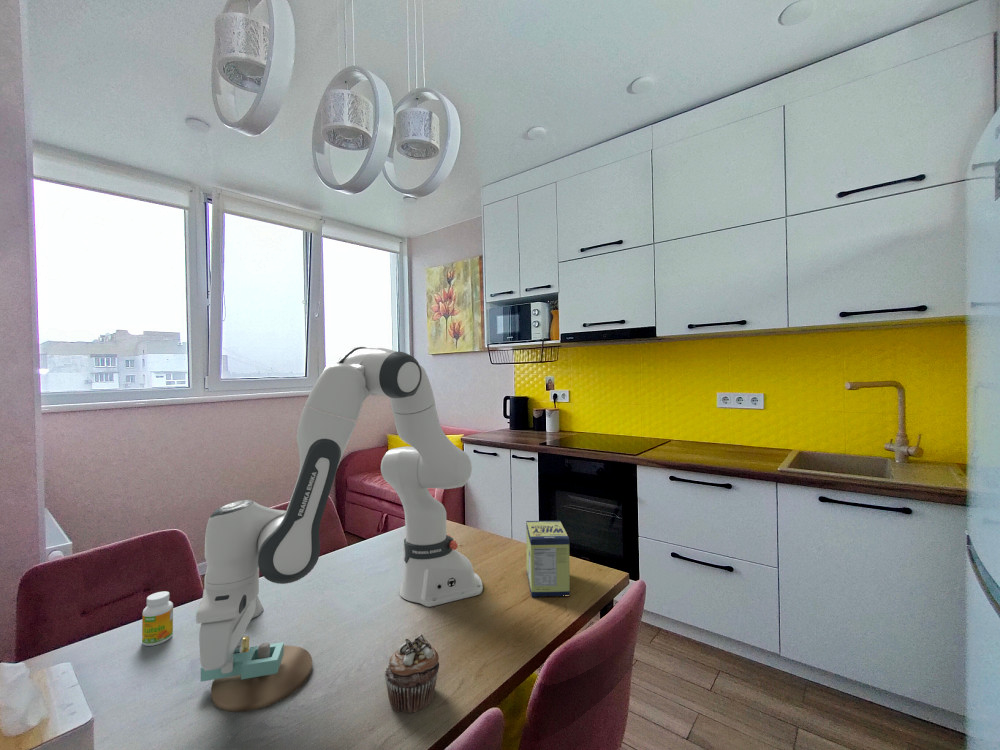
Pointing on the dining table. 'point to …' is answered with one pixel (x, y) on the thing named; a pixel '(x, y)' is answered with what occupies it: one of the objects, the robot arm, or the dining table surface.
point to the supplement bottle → (157, 619)
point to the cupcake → (412, 675)
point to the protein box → (547, 558)
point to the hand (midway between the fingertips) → (231, 663)
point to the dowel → (245, 644)
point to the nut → (250, 664)
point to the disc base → (263, 682)
